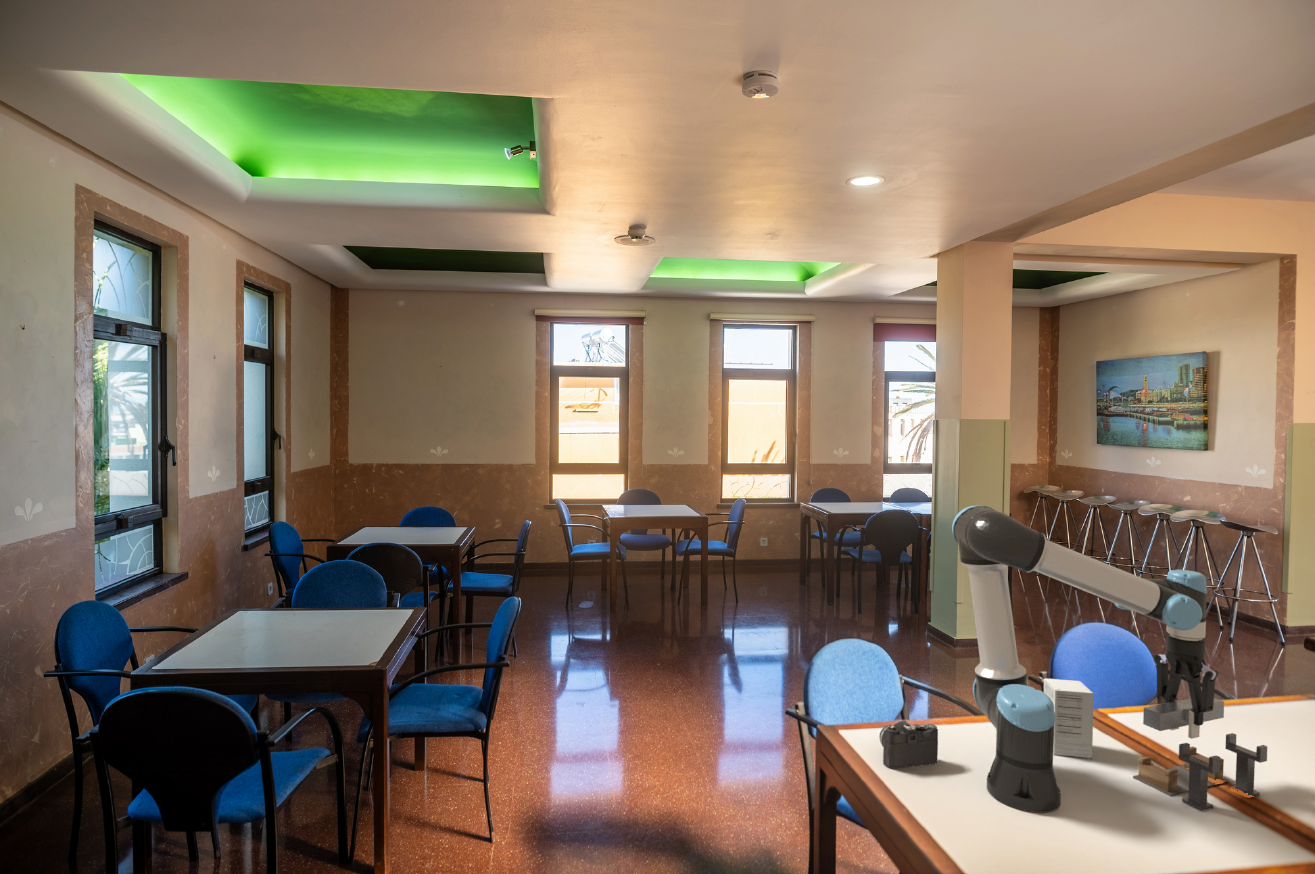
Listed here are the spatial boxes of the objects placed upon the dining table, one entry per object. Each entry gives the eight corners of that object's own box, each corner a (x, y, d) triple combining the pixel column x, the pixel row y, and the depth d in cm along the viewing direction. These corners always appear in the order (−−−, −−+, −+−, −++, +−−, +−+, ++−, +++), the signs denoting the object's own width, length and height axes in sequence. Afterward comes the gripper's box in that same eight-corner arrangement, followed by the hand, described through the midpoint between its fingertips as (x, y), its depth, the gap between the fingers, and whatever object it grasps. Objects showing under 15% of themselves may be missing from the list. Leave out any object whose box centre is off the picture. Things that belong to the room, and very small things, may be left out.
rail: (1160, 730, 166) (1160, 713, 166) (1143, 724, 170) (1143, 707, 169) (1223, 717, 173) (1224, 701, 173) (1206, 711, 177) (1206, 695, 177)
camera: (915, 745, 188) (916, 707, 188) (941, 764, 178) (942, 725, 178) (866, 751, 185) (867, 713, 184) (891, 771, 174) (892, 731, 174)
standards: (1208, 814, 157) (1210, 758, 156) (1174, 798, 163) (1176, 744, 163) (1267, 799, 163) (1269, 745, 163) (1233, 783, 170) (1234, 732, 170)
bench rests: (1170, 796, 164) (1171, 773, 164) (1132, 777, 173) (1133, 756, 172) (1228, 782, 171) (1229, 760, 171) (1189, 764, 179) (1190, 744, 179)
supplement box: (1093, 759, 182) (1095, 693, 181) (1053, 755, 184) (1055, 690, 183) (1079, 742, 191) (1080, 680, 191) (1041, 738, 193) (1043, 677, 193)
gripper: (1235, 645, 164) (1233, 745, 165) (1160, 624, 180) (1158, 716, 181) (1213, 648, 162) (1211, 750, 162) (1139, 627, 178) (1137, 720, 178)
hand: (1183, 732), depth 171 cm, fingers closed on rail, 4 cm apart
